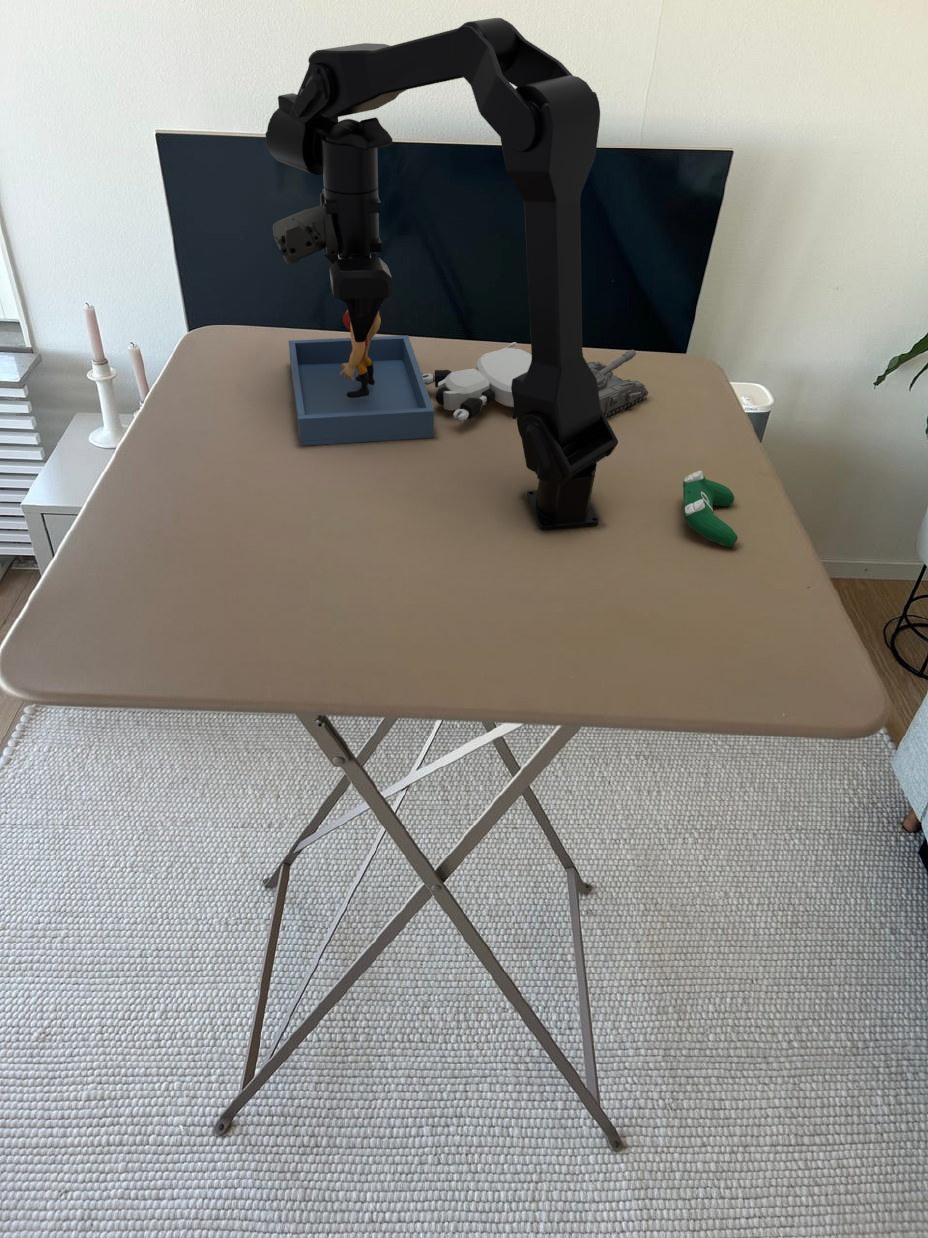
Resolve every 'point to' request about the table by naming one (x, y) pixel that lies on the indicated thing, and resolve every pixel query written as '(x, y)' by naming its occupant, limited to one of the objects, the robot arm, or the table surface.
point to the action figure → (360, 359)
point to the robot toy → (480, 382)
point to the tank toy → (616, 386)
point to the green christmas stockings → (707, 508)
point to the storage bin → (381, 415)
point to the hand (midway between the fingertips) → (356, 327)
